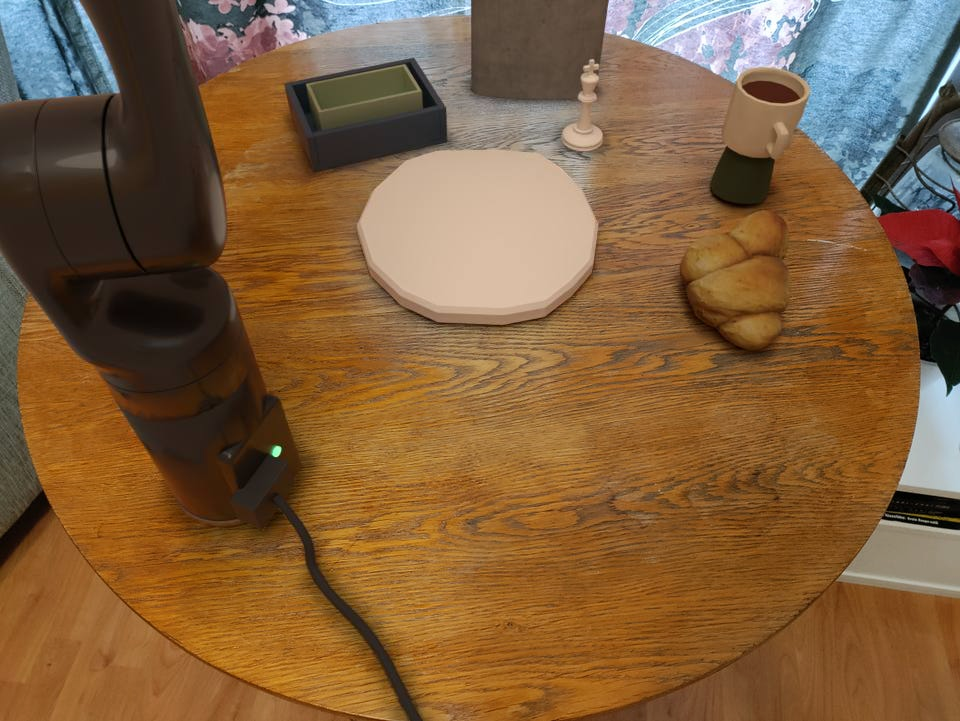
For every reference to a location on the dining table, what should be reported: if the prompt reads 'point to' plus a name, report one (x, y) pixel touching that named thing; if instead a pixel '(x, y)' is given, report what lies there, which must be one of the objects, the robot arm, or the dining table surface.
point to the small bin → (363, 97)
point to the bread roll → (741, 279)
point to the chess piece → (584, 116)
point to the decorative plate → (479, 236)
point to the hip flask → (534, 47)
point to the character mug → (757, 132)
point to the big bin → (368, 124)
